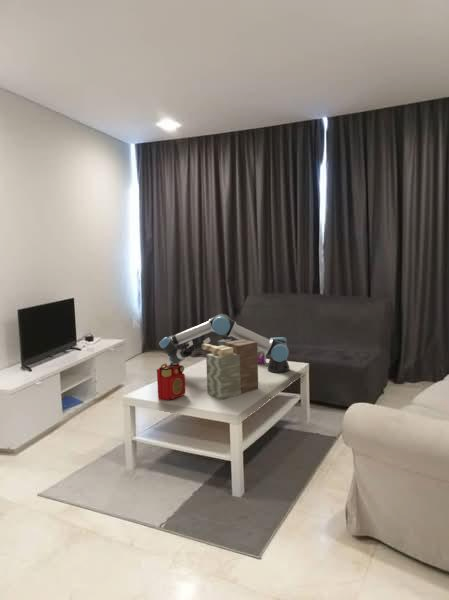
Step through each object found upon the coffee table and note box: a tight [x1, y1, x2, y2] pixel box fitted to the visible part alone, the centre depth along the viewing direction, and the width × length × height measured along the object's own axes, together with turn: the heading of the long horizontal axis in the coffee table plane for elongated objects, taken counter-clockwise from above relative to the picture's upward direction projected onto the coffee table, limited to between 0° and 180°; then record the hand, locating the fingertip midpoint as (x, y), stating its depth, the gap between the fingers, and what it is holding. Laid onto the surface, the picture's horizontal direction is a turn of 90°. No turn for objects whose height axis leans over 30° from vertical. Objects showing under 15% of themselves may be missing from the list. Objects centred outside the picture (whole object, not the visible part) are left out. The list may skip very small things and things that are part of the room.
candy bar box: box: [257, 348, 267, 365], centre depth 339 cm, size 11×5×16 cm, turn 71°
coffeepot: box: [216, 336, 236, 346], centre depth 352 cm, size 15×9×18 cm, turn 107°
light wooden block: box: [201, 343, 233, 357], centre depth 273 cm, size 24×8×4 cm, turn 38°
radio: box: [156, 362, 186, 401], centre depth 268 cm, size 16×10×20 cm, turn 148°
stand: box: [205, 339, 259, 400], centre depth 273 cm, size 14×28×29 cm, turn 128°
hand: (200, 340), depth 285 cm, fingers open, 13 cm apart
